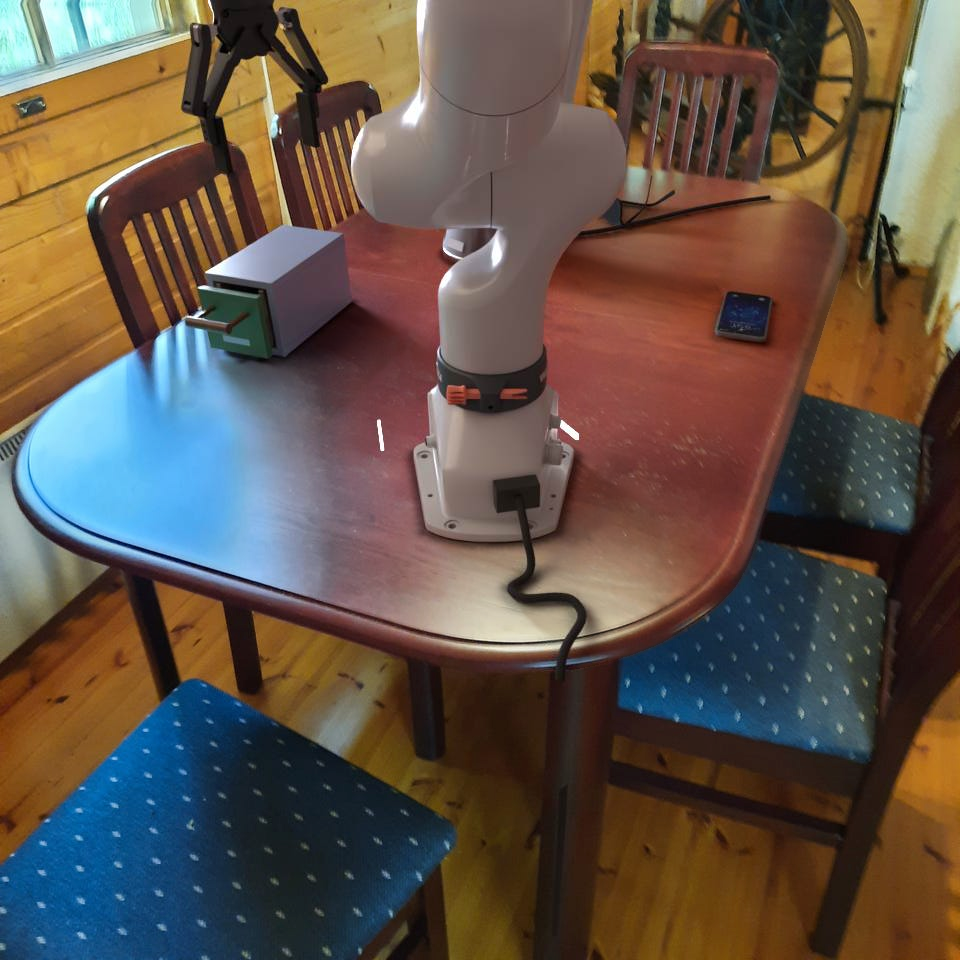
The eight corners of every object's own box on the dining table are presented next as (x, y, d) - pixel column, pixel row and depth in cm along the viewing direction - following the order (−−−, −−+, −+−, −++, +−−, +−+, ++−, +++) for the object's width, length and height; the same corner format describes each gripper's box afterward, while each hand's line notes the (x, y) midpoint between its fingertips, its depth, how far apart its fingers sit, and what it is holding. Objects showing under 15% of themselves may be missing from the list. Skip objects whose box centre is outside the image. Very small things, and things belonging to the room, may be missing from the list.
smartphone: (773, 295, 132) (766, 339, 121) (772, 301, 133) (765, 345, 121) (725, 289, 134) (713, 331, 123) (724, 295, 135) (712, 337, 123)
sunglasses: (684, 220, 161) (688, 194, 158) (614, 230, 158) (616, 203, 155) (646, 193, 174) (648, 168, 171) (580, 201, 171) (581, 176, 168)
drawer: (245, 377, 115) (232, 315, 110) (186, 365, 118) (170, 304, 113) (334, 305, 133) (326, 249, 127) (280, 296, 136) (271, 241, 130)
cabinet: (284, 356, 122) (271, 283, 115) (220, 344, 125) (204, 272, 119) (352, 301, 136) (343, 233, 130) (293, 291, 140) (282, 224, 133)
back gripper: (303, -46, 107) (327, 131, 120) (119, -21, 93) (168, 176, 106) (341, -43, 103) (362, 140, 116) (154, -16, 89) (201, 189, 102)
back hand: (269, 158), depth 111 cm, fingers open, 13 cm apart
